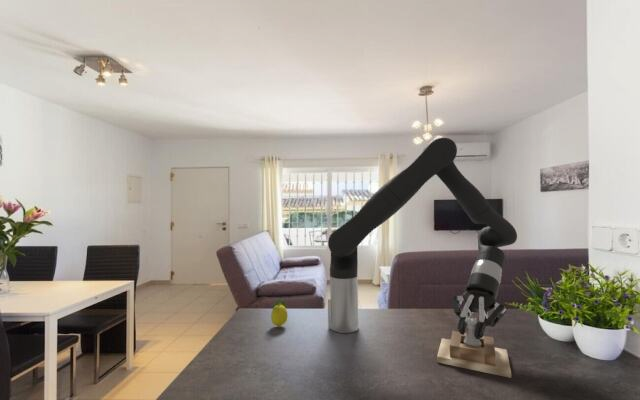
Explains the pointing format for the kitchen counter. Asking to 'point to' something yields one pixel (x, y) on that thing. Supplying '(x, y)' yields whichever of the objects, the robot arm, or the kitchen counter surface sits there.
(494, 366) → the press socket
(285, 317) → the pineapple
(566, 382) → the kitchen counter surface
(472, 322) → the rook chess piece
